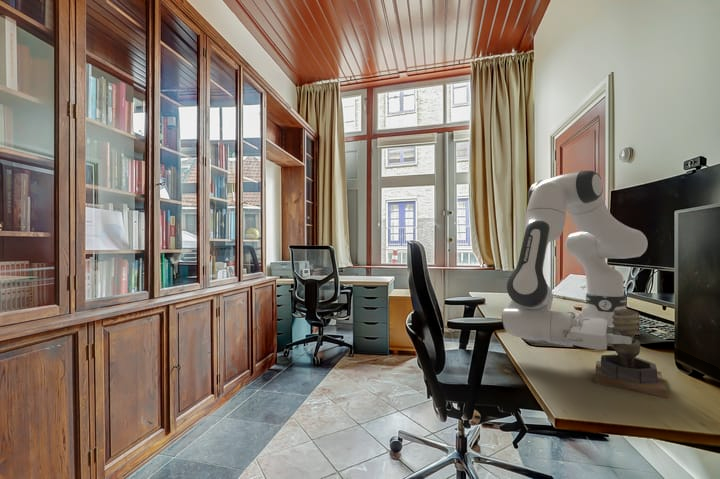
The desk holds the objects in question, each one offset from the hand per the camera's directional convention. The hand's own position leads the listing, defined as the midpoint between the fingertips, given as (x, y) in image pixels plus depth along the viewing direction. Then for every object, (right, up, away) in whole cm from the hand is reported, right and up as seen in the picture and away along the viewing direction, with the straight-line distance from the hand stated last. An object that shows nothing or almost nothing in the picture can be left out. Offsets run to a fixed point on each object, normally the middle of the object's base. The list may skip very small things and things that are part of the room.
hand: (631, 336), depth 79 cm
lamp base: (0, -11, 0) cm, 11 cm away
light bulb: (-1, -8, 0) cm, 8 cm away
